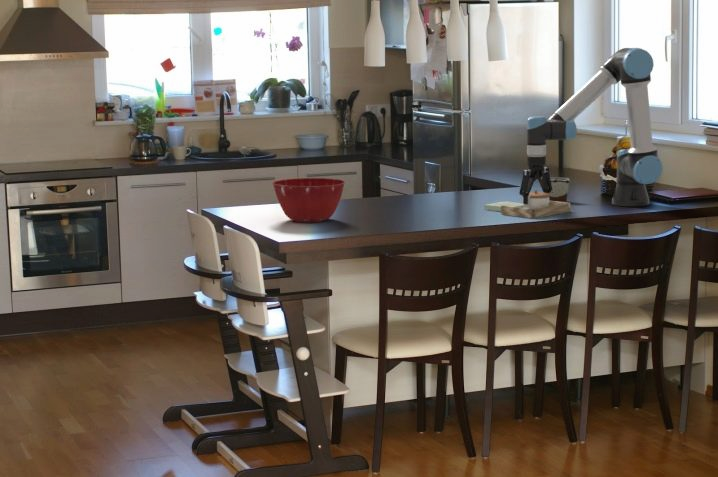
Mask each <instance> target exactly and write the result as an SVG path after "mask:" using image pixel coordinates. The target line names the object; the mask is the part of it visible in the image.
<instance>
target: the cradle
mask: <svg viewBox="0 0 718 477" xmlns="http://www.w3.org/2000/svg"><path fill="white" fill-rule="evenodd" d="M570 212H571V202H558V201H549V205H548V206H547V207H541V208H536V209H530V208H524V207H513V206H505V205H502V206H501V212H500V215H504V216H513V217H518V216H519V217H520V218H526V217H527V218H529V219H538V218H543V217H549V216H553V215H558V214H564V213H565V214H566V213H570ZM519 217H518V218H519Z"/></svg>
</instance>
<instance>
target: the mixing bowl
mask: <svg viewBox="0 0 718 477" xmlns="http://www.w3.org/2000/svg"><path fill="white" fill-rule="evenodd" d="M345 183H346V181H345V180H342V179H339V178H326V177H310V178H309V177H303V178H302V177H301V178H298V177H297V178H287V179H285V178H284V179H280V180H276V181H275V180H274V181H273V182H272V185H273V188H274V191H275V194H276V195H275V196H276V197H277V198H276V199H277V201H278V204H279V205H280V208H281V209H282V212H283V213H284V214H285V216H286V217H287V218H289V220H292V222H294V221H295V223H301V222H307V223H308V224H311V223H310V222H315V223H323V222H326V221H327V220H328V219H330V218H331V217H332V216H333V215H334V214H335V212H336V211H337V208H338V206H339V204H340V200H341V198H342V194H343V191H344V187H345ZM325 220H326V221H325ZM322 221H323V222H322Z"/></svg>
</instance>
